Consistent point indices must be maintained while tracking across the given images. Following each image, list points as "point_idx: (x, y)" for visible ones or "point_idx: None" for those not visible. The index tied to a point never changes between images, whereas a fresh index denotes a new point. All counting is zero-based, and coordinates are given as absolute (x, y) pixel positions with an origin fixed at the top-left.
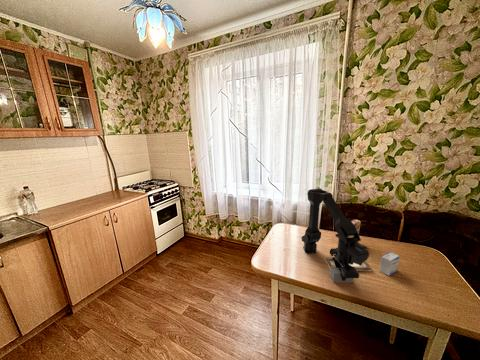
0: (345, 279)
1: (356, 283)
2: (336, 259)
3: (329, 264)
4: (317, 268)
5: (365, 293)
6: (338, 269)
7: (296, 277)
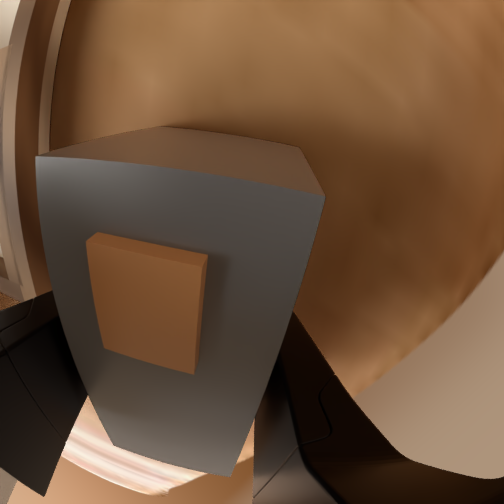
0: (294, 315)
1: (322, 96)
2: (6, 497)
3: (8, 289)
4: None
5: (492, 132)
6: (131, 413)
7: (188, 471)
